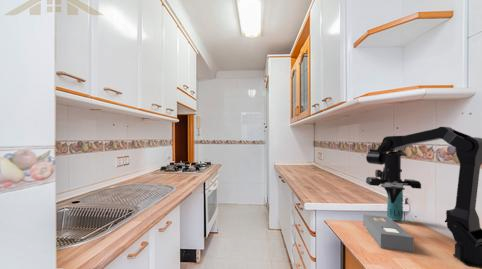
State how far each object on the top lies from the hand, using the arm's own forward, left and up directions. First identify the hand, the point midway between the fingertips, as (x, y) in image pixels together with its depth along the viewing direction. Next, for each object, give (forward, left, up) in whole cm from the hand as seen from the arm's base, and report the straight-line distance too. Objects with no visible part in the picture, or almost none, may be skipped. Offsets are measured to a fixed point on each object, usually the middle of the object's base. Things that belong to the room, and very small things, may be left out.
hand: (392, 203), depth 94 cm
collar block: (+5, +7, -12) cm, 15 cm away
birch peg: (+5, +1, -12) cm, 13 cm away
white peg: (+5, +13, -12) cm, 18 cm away
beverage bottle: (-7, -16, -12) cm, 21 cm away
